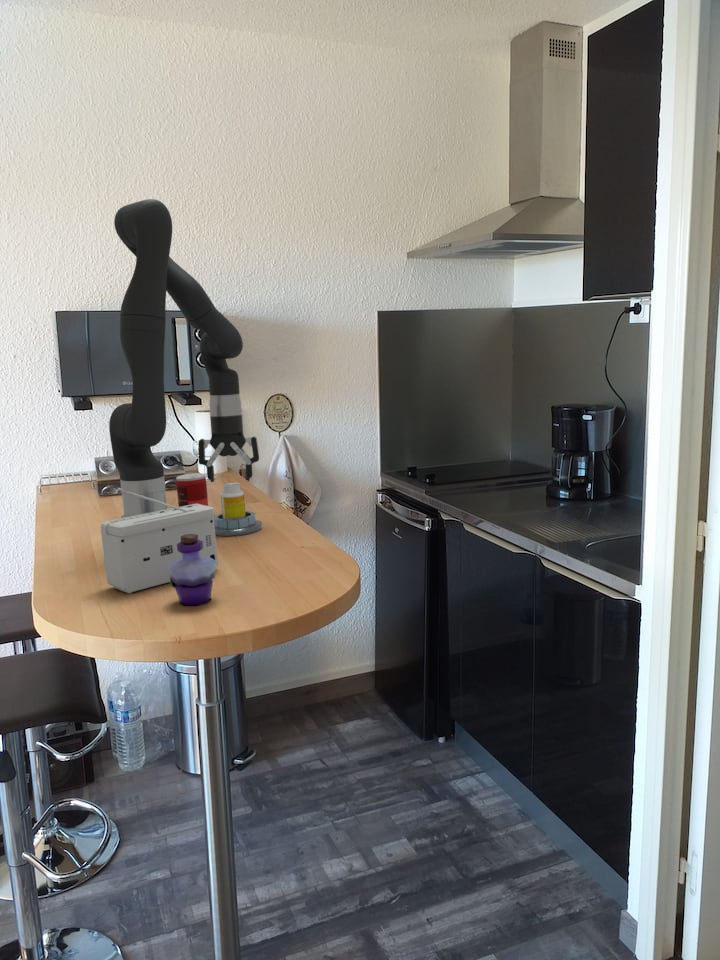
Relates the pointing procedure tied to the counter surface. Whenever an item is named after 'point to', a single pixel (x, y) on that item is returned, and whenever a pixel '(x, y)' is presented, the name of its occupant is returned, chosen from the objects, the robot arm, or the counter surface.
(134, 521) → the stereo radio cassette player
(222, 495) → the supplement bottle
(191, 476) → the canned food
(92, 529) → the counter surface
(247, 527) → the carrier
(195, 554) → the potion bottle
